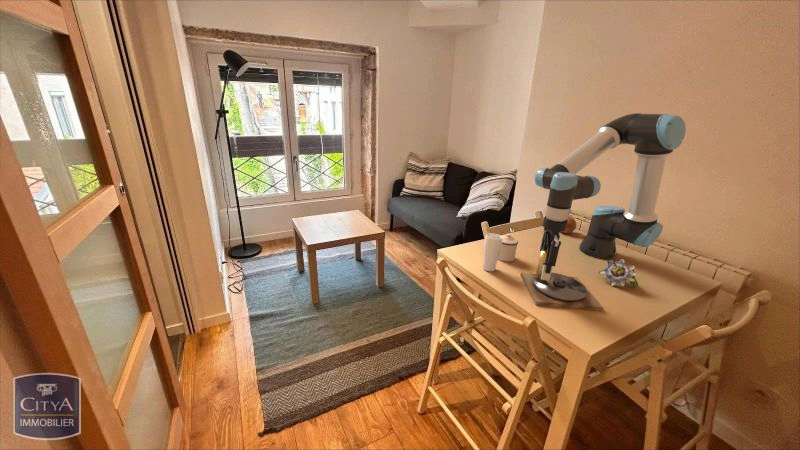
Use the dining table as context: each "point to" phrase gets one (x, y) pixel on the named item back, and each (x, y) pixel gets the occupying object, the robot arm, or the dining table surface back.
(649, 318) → the dining table surface
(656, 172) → the robot arm
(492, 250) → the drinking glass
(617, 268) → the passion flower
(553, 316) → the dining table surface
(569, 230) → the onion
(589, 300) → the base plate
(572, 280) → the handwheel
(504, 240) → the teacup with lid
